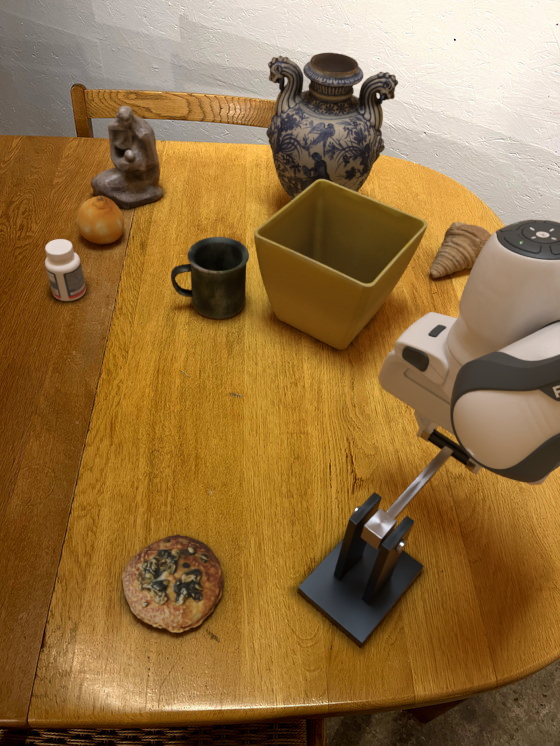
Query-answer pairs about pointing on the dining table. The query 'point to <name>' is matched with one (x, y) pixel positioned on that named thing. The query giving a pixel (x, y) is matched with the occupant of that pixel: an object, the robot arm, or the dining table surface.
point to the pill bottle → (64, 270)
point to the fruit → (100, 220)
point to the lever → (411, 491)
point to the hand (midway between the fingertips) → (448, 451)
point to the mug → (215, 276)
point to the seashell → (459, 249)
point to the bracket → (362, 576)
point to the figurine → (130, 163)
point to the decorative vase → (326, 122)
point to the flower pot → (334, 259)
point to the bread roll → (173, 583)
